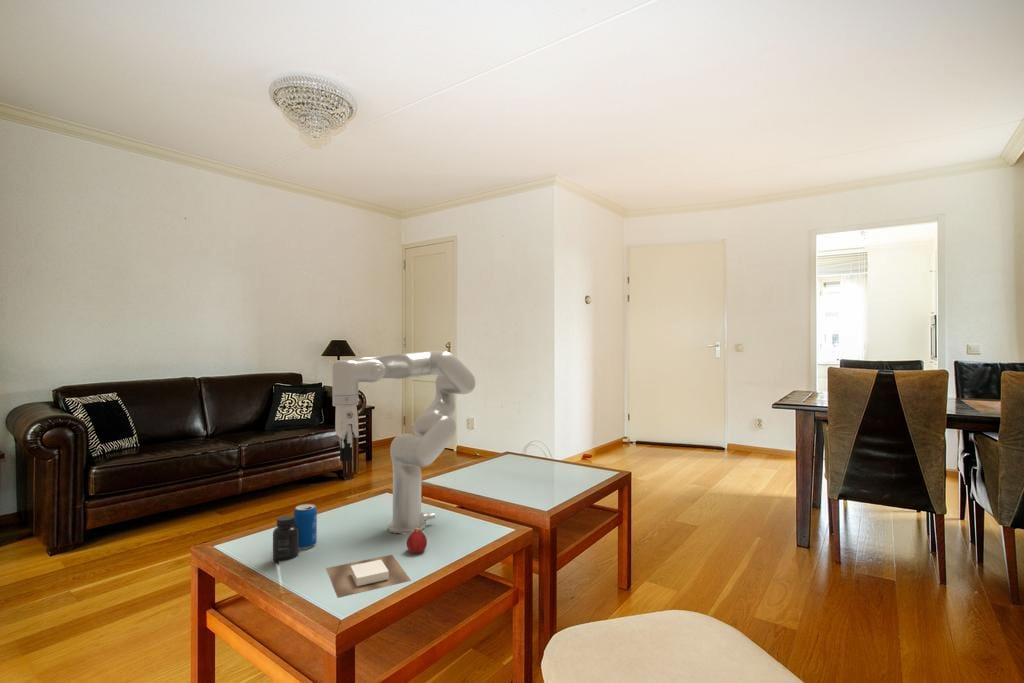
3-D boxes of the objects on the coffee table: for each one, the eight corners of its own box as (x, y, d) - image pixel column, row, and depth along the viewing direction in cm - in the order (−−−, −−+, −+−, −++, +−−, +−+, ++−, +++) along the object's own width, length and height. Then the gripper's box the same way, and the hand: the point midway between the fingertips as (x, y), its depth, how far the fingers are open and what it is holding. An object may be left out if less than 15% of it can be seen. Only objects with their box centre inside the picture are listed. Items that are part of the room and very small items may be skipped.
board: (392, 558, 140) (392, 554, 140) (411, 585, 125) (411, 580, 125) (326, 572, 132) (326, 568, 132) (337, 602, 116) (337, 597, 116)
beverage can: (308, 551, 146) (308, 510, 146) (288, 549, 147) (289, 509, 147) (320, 542, 152) (321, 504, 152) (302, 541, 153) (302, 502, 153)
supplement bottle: (304, 556, 142) (304, 515, 142) (286, 566, 135) (286, 523, 135) (285, 553, 144) (285, 512, 144) (266, 563, 137) (267, 520, 138)
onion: (409, 551, 146) (409, 524, 146) (428, 551, 146) (428, 524, 146) (404, 559, 140) (404, 531, 140) (424, 559, 140) (424, 531, 140)
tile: (381, 559, 132) (388, 571, 125) (381, 567, 132) (388, 580, 125) (350, 565, 128) (356, 578, 121) (350, 574, 128) (356, 587, 121)
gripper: (364, 401, 144) (365, 463, 144) (351, 397, 157) (352, 454, 157) (338, 403, 140) (338, 467, 140) (327, 398, 153) (327, 457, 153)
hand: (345, 460), depth 148 cm, fingers closed
